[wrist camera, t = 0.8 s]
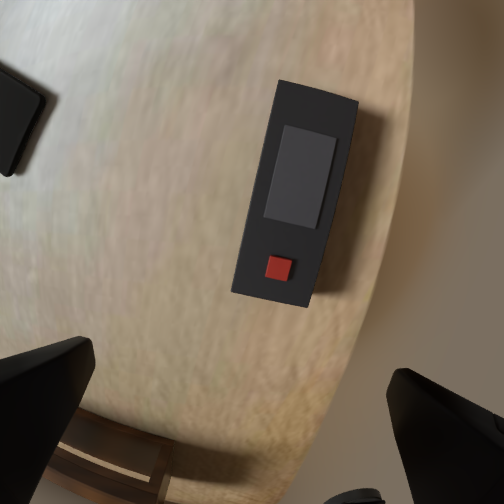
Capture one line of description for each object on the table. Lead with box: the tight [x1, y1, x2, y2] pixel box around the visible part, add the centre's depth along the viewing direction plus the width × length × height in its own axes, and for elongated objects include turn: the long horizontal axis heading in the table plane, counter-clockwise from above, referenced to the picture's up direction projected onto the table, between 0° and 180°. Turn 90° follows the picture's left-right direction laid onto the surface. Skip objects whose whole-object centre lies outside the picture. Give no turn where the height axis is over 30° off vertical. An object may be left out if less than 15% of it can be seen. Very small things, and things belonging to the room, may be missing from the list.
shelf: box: [42, 408, 174, 504], centre depth 20 cm, size 16×7×8 cm, turn 77°
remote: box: [231, 80, 359, 308], centre depth 17 cm, size 12×4×2 cm, turn 167°
